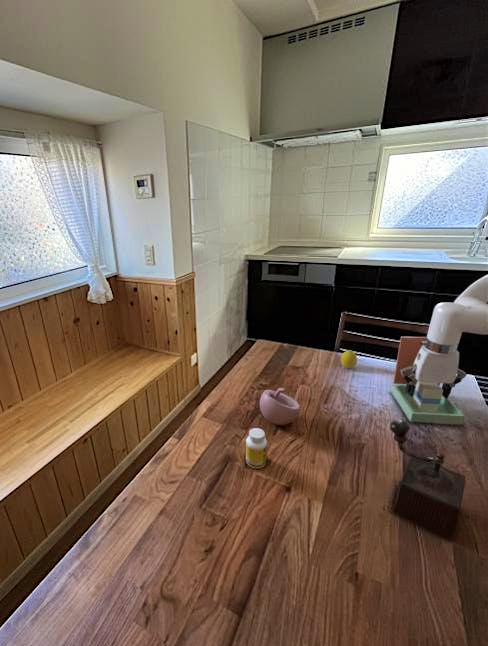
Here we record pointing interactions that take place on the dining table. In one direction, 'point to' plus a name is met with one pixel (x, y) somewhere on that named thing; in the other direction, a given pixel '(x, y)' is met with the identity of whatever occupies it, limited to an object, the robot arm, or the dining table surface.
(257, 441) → the supplement bottle
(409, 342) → the lunchbox lid
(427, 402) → the drink carton
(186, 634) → the dining table surface
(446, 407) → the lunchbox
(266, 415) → the mortar and pestle
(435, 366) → the robot arm
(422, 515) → the manual coffee grinder
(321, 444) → the dining table surface
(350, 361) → the lemon
